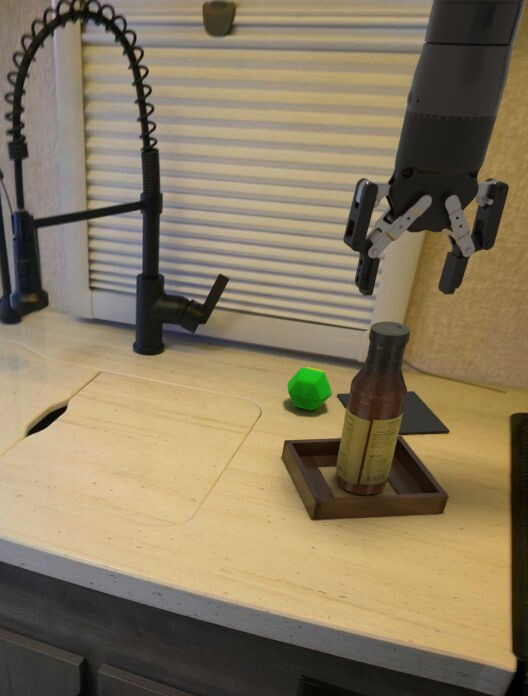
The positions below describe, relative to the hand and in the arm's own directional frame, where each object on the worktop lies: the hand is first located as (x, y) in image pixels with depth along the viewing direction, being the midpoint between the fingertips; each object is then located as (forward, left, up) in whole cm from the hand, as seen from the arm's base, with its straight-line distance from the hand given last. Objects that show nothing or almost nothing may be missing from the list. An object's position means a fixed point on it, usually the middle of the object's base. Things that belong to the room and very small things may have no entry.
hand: (405, 292), depth 68 cm
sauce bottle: (0, 0, -24) cm, 24 cm away
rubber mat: (-11, -17, -24) cm, 31 cm away
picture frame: (0, 0, -24) cm, 24 cm away
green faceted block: (0, -21, -24) cm, 32 cm away
